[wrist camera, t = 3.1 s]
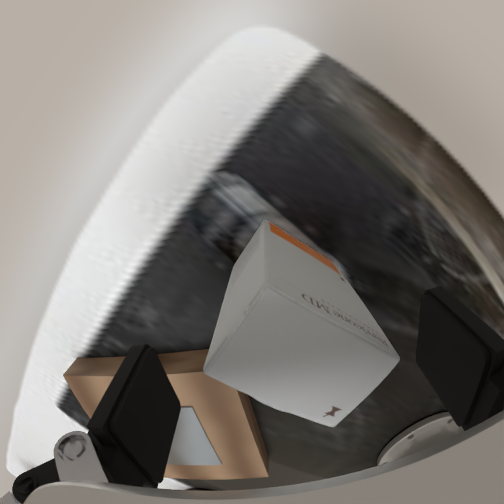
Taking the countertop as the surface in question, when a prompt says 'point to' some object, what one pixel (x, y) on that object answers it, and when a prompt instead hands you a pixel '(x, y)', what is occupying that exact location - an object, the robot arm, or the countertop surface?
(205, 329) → the countertop surface
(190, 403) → the walnut picture frame
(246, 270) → the skincare box
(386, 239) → the countertop surface
